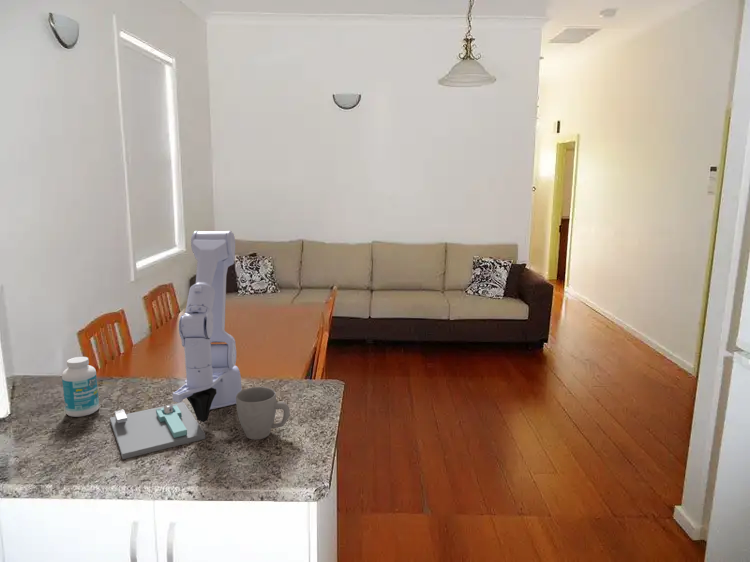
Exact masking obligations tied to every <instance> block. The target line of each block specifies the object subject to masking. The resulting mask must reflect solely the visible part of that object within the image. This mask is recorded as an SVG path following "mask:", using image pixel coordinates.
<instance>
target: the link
mask: <svg viewBox="0 0 750 562" xmlns="http://www.w3.org/2000/svg"><path fill="white" fill-rule="evenodd" d="M156 415H157V416H158V418H159V420H160V422H163V421H165V422H166V424H167V426H168V428H169V429H170V431H171V433H172V435H173V437H174V438H176V437H180V436H184V435H187V429H186V427H185V426H184V424H183V422H182V421H181V419H180V417H182V414H181V411H180V409H179V408H178V406H177V405H175V406H173V413H169V414H164V408H161V409H156Z"/></svg>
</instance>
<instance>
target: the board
mask: <svg viewBox="0 0 750 562" xmlns="http://www.w3.org/2000/svg"><path fill="white" fill-rule="evenodd" d="M170 405H173V406H175V405H177V406H178V408H179V409H180V411H181V414H182V417H180V419H181V421H182V422H183V424H184V426H185V427H186V429H187V435H184V436H180V437H176V438H174V437H173V435H172V433H171V431H170V429H169V428H168V426H167V424H166V422H165V421H163V422H160V420H159V418H158V416H157V415H156V409H161V408H164V406H165V405H162V406H157V407H154V408H153V407H151V408H148V409H144V410H138V411H134V412H129V413H125V414H126V416H127V421H126V422H125V423H121V424H116V422H115V416H110V417H109V420H110V425H111V428H112V431H113V434H114V437H115V440H116V443H117V447H118V450H119V453H120V456H121V458H122V460H126V459H129V458H134V457H138V456H141V455H142V456H143V455H145V454H149V453H154V452H158V451H161V450H165V449H166V450H167V449H170V448H174V447H178V446H182V445H185V444H190V443H193V442H198V441H201V440H205V439H206V433H205V431H204V430H203V428H202V427H201V425H200V424H199V423H198V420H197V418H195V416H194V415H193V413H192V412H191V410H190V409H189V407H187V405H186V403H185V402H184V401H182V402H180V403H178V402H176V403H171V404H170Z"/></svg>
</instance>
